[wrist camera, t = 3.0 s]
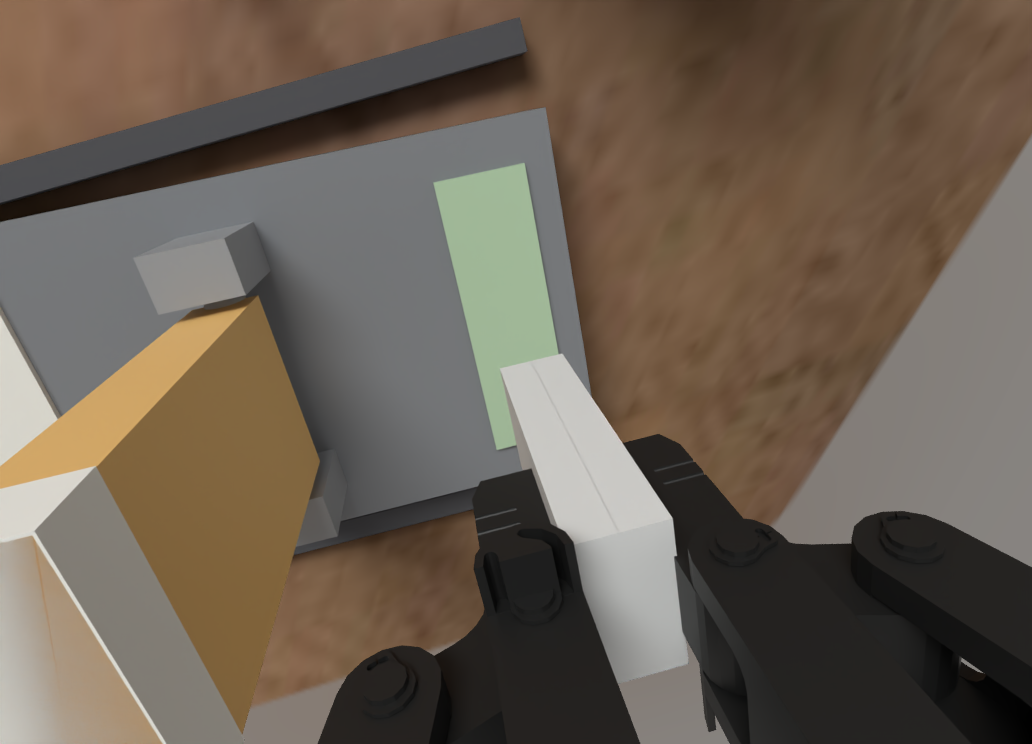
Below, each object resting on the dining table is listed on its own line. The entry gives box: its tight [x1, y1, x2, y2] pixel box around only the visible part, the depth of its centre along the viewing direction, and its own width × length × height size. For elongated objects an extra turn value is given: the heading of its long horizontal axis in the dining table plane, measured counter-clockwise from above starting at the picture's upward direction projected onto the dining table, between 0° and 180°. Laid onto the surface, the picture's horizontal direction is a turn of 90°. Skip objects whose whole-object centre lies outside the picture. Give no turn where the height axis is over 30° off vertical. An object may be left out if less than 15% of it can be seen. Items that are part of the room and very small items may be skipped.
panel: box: [0, 107, 592, 547], centre depth 21 cm, size 22×13×6 cm, turn 101°
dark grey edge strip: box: [293, 487, 477, 555], centre depth 26 cm, size 22×1×1 cm, turn 101°
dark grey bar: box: [0, 17, 527, 205], centre depth 20 cm, size 22×1×1 cm, turn 105°
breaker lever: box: [0, 295, 320, 744], centre depth 14 cm, size 2×6×13 cm, turn 11°
